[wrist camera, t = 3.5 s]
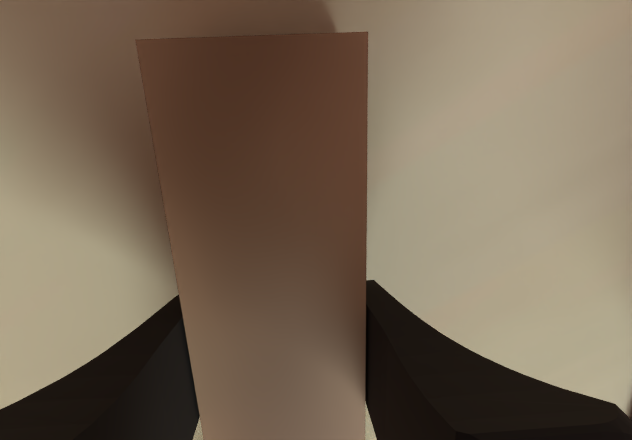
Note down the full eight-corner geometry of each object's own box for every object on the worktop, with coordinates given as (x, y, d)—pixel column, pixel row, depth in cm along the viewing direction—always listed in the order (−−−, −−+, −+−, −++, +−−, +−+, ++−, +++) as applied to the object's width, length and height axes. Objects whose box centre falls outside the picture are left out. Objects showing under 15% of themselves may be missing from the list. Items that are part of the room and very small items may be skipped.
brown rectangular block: (363, 43, 11) (396, 30, 7) (361, 525, 17) (379, 637, 13) (164, 49, 10) (105, 41, 7) (237, 536, 17) (224, 652, 13)
